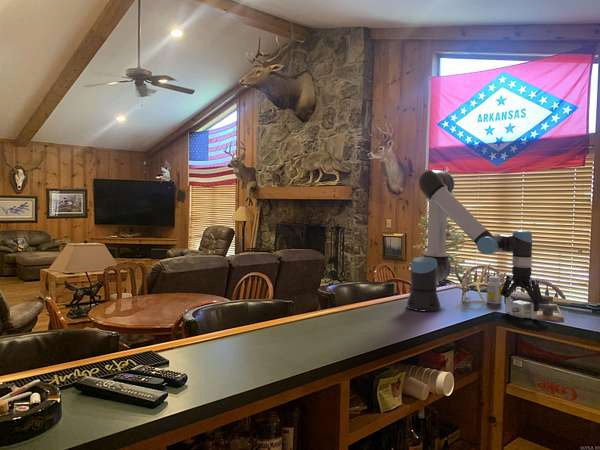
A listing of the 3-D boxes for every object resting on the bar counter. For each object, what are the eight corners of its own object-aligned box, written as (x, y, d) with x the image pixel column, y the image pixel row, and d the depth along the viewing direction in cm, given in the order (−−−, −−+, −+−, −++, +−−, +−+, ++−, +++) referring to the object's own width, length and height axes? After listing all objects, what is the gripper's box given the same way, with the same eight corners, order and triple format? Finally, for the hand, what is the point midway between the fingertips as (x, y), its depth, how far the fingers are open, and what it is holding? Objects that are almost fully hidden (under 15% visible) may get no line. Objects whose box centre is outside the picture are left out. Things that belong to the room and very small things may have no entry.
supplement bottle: (498, 301, 224) (499, 275, 224) (503, 304, 218) (504, 278, 217) (485, 301, 225) (485, 275, 224) (489, 304, 219) (489, 277, 218)
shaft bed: (536, 318, 192) (536, 305, 191) (532, 305, 215) (533, 293, 215) (563, 321, 188) (563, 307, 187) (556, 307, 211) (557, 295, 211)
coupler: (507, 315, 198) (507, 301, 197) (521, 313, 202) (521, 299, 201) (519, 318, 192) (519, 304, 192) (533, 316, 196) (534, 302, 196)
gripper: (492, 263, 205) (491, 309, 206) (541, 270, 183) (540, 322, 184) (504, 262, 208) (503, 308, 210) (553, 269, 186) (552, 320, 188)
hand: (520, 315), depth 197 cm, fingers open, 12 cm apart
